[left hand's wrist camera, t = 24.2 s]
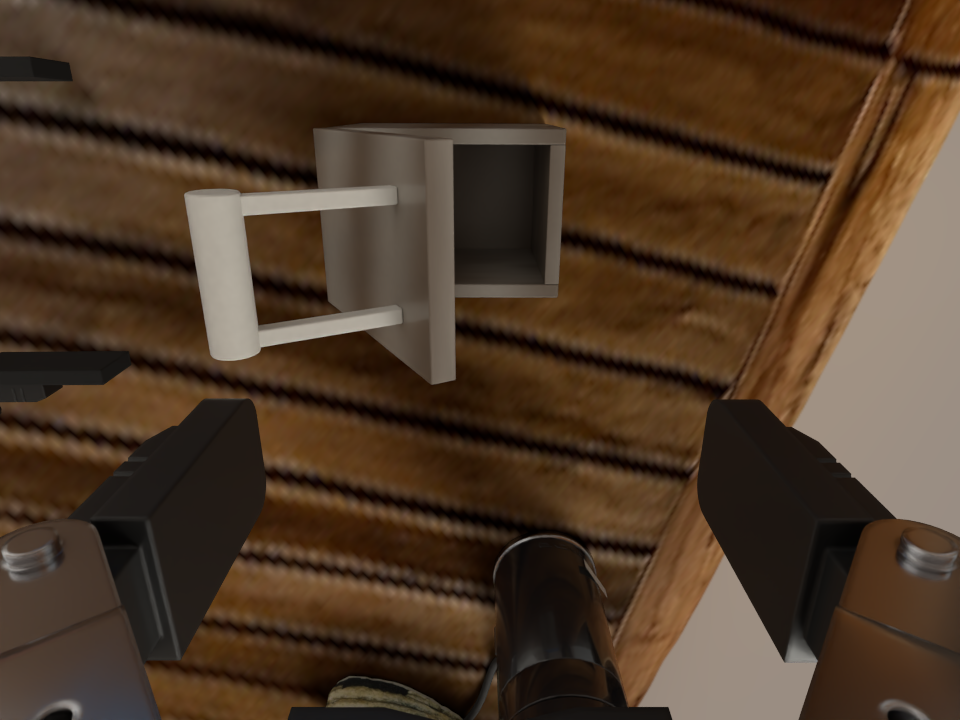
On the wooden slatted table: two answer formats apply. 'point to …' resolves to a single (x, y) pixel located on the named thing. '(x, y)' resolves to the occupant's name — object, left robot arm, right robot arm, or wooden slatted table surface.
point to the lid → (346, 250)
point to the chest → (501, 204)
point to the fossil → (386, 698)
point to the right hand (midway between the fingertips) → (88, 230)
